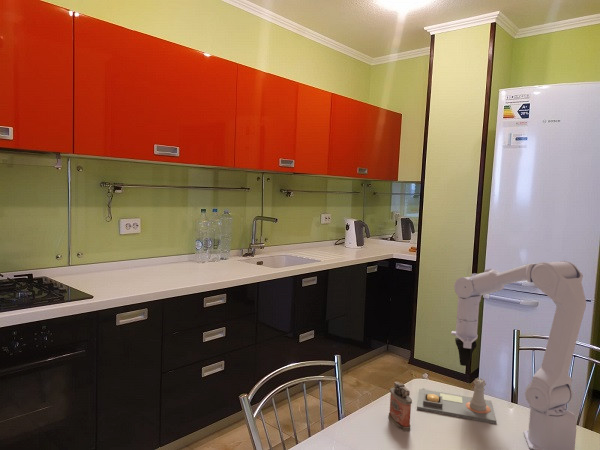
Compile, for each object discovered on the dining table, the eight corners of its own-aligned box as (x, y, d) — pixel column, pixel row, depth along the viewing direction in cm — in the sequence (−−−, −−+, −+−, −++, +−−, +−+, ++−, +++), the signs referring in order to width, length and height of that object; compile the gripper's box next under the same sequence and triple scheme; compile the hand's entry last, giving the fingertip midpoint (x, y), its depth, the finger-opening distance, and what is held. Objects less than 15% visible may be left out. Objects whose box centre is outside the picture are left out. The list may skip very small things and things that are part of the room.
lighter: (385, 415, 116) (387, 378, 115) (396, 414, 117) (399, 377, 116) (401, 431, 108) (403, 392, 108) (413, 429, 109) (415, 391, 109)
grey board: (491, 403, 125) (491, 396, 125) (496, 423, 114) (496, 416, 114) (419, 391, 131) (419, 384, 131) (416, 409, 120) (417, 402, 120)
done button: (438, 400, 124) (439, 395, 123) (438, 405, 121) (439, 400, 120) (426, 398, 125) (427, 393, 124) (426, 403, 122) (426, 398, 121)
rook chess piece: (488, 412, 118) (490, 384, 117) (471, 411, 118) (473, 382, 118) (483, 404, 122) (485, 377, 122) (467, 403, 123) (469, 375, 122)
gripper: (451, 310, 133) (449, 354, 134) (453, 323, 119) (449, 372, 120) (476, 313, 131) (473, 357, 132) (481, 326, 117) (477, 376, 118)
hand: (464, 364), depth 126 cm, fingers closed
